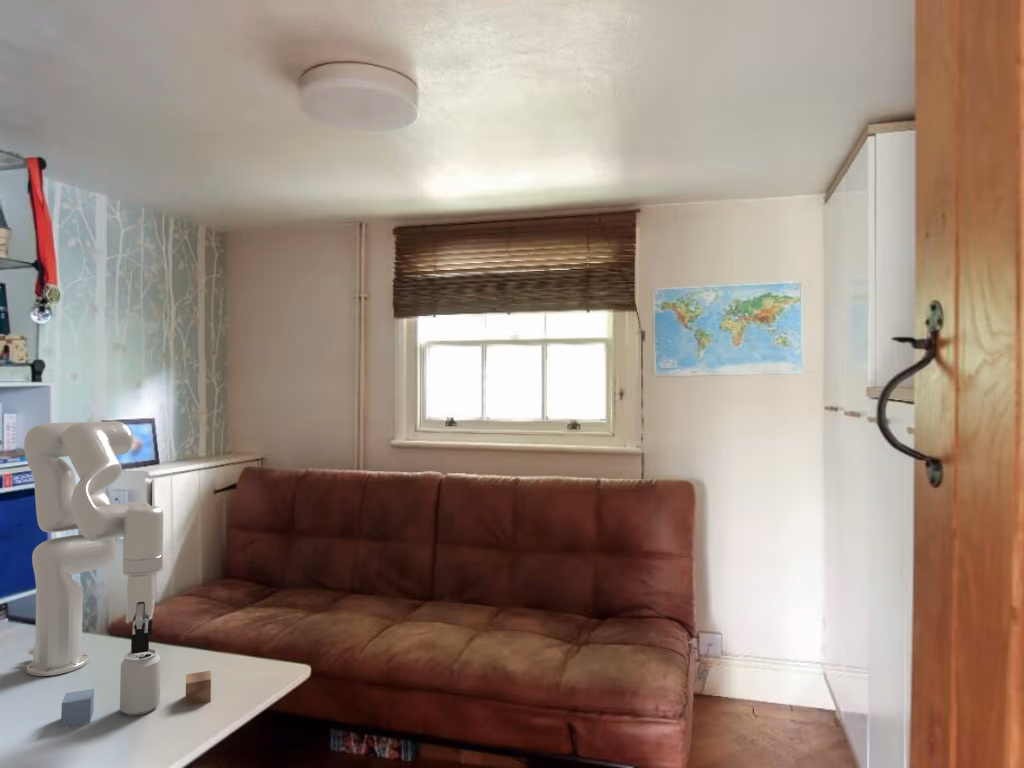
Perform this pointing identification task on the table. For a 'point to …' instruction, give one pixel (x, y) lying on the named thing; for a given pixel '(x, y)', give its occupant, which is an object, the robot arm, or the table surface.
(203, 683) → the walnut block
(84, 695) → the slate block
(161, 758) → the table surface
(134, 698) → the can
